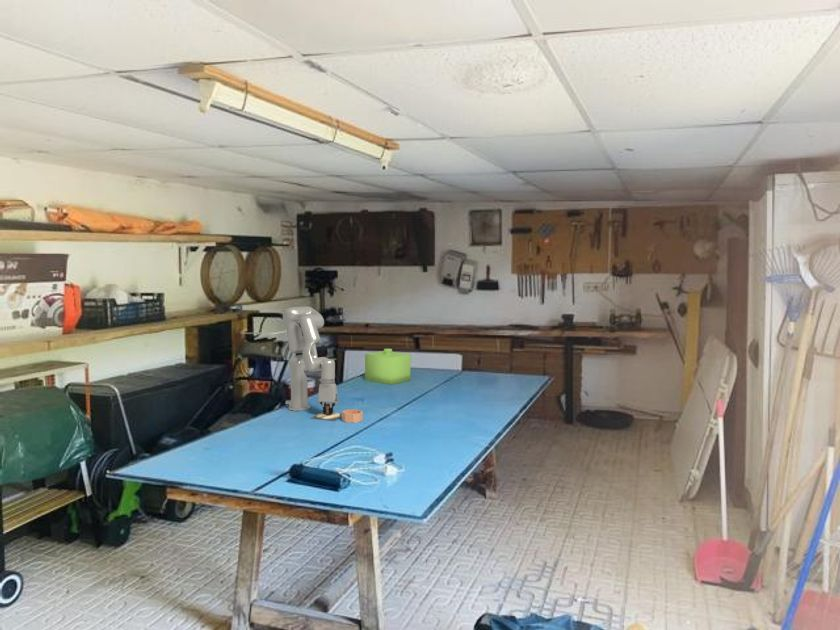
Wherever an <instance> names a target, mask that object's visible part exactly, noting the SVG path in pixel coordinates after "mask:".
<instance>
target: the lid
mask: <svg viewBox="0 0 840 630" xmlns="http://www.w3.org/2000/svg"><path fill="white" fill-rule="evenodd" d="M329 408H330V403H326V414H323V411H322V412H319V413H316V415H315V416H316V417H317V418H319V419H326V420H325V421H328V419H336V418H339V417H340V414H341V413H339V412H334V411H333V414H331V415H329ZM339 419H340V418H339Z"/></svg>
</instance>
